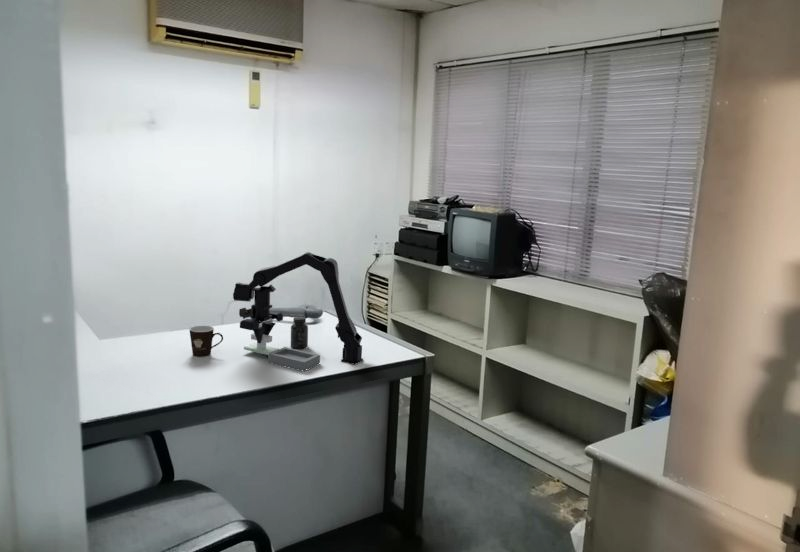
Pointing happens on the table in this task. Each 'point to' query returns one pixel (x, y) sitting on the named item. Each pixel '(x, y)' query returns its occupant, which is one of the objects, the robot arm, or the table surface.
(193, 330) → the coffee mug
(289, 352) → the case
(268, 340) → the cover
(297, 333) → the supplement bottle
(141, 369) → the table surface
